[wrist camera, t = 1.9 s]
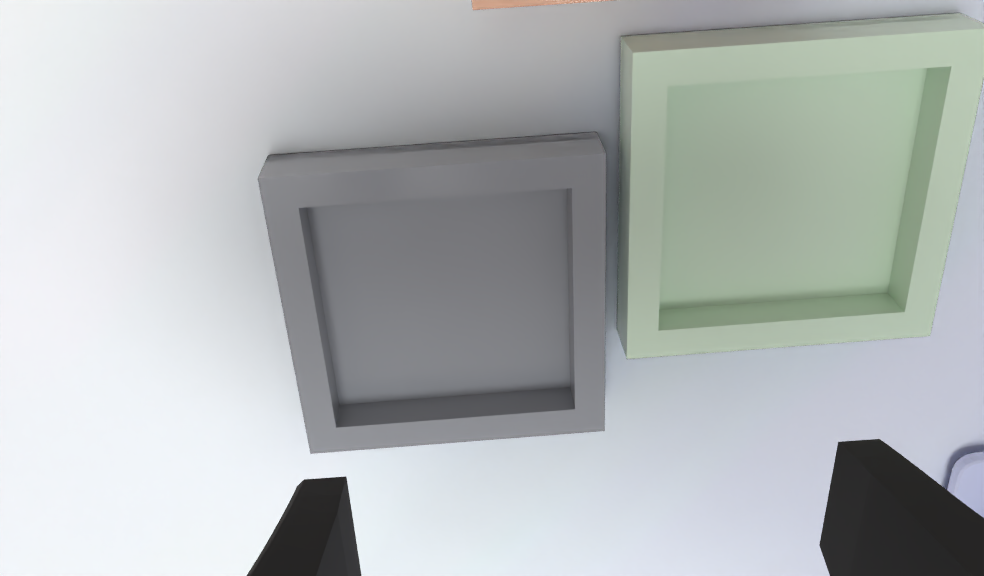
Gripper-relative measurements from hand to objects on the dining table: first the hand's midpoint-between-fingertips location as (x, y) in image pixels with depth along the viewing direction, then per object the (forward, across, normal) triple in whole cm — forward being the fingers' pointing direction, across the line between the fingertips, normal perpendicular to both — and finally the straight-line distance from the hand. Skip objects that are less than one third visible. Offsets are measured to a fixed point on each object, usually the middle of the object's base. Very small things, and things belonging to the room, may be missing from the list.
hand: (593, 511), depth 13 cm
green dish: (+8, -5, -1) cm, 10 cm away
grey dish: (+8, +2, +1) cm, 9 cm away
